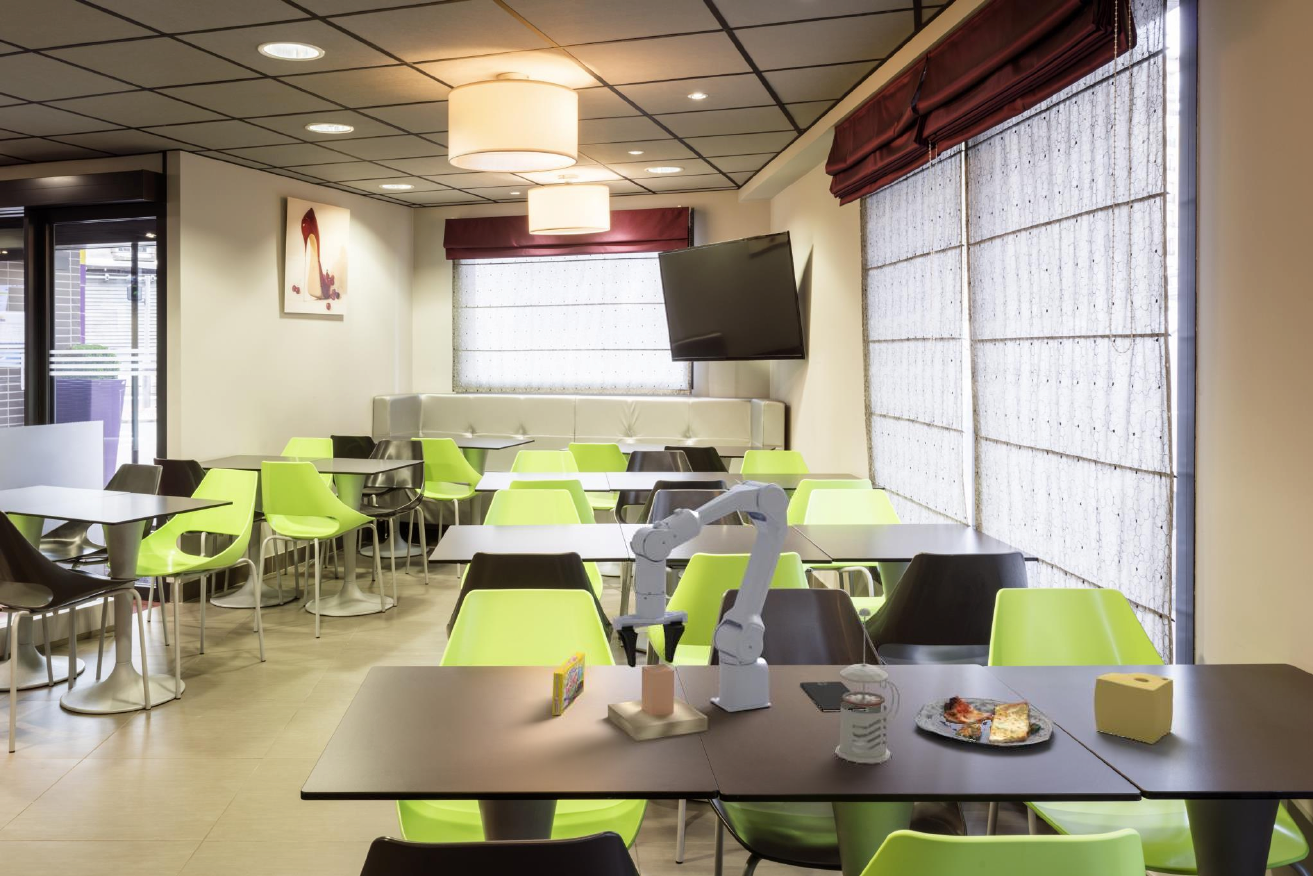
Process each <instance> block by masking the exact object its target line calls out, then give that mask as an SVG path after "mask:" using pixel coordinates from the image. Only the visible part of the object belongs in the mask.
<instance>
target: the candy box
mask: <svg viewBox="0 0 1313 876" xmlns="http://www.w3.org/2000/svg"><path fill="white" fill-rule="evenodd" d="M585 657H586V653H584V652H578V651H577V652H576V653H574V654H573V655H572V656H571V657H570V658H569V659H568V660H567V661H565V662H564V663H563V664H562V665H561V666H560V667H558V668H557V669H556V670H555V671H554V672H553V679H552V680H553V682H552V684H553V686H552V703H551V704H552V709H551V715H552V716H555V715H560V716H561V715H562V714H564V712H565V711H566V710H567V709H568V708H569V707H570V706H571V705H572V704H573V703H574V702H575V701H576V700H577V699H578V698H579V697H580V696H581V695H582V693H584V692H585V691H584V689H585V667H586V666H585V665H586V663H585V661H586V660H585V659H586V658H585ZM578 696H579V697H578ZM577 697H578V698H577ZM576 698H577V699H576ZM575 699H576V700H575Z"/></svg>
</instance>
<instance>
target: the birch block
mask: <svg viewBox="0 0 1313 876" xmlns="http://www.w3.org/2000/svg"><path fill="white" fill-rule="evenodd" d="M607 718H608V719H610V721H612V722H613V723H614V724H616V725H617V726H618V727H619V728H621V730H622V731H624V732H625V733H626V734H628V736H630V737H631V738H632V739H633V740H635V742H637V741H644V740H645V741H646V740H649V739H650V740H651V739H657V738H663V737H671V736H677V735H684V734H691V733H692V734H693V733H697V732H698V733H699V732H705V731H708V716H706V715H705V714H703V712H701V711H699V710H698V709H696V708H694V707H693V706H691V705H690V704H688V703H687V702H685V701H684V700H683V699H680V697H678V696H676V695H674V713H672V714H665V715H657V716H650V715H649V714H648V713H646V712H645V711H644V710H642V699H640V700H634V701H633V700H632V701H625V702H618V703H609V704H607Z"/></svg>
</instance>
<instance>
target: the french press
mask: <svg viewBox="0 0 1313 876" xmlns="http://www.w3.org/2000/svg"><path fill="white" fill-rule="evenodd" d="M858 611H859V612H858V615H859V616H861V617H864V618H863V663H858V664H857V663H855V664H851V665H848V667H845V668H843V669H842V670H840V673H839V675H840V677H841V678H842V680H845V681H848V682H851V683H856V684H857V683H858V684H863V687H862V688H863V690H862V691H860V690H859V691H856V690H854V691H851V692H848V693H845V694H844V695H842V698H843V700H844V702H842V703H841V712H840V716H839V717H840V719H839V721H840V725H839V727H840V729H839V731H840V732H839V745H837V747H835V748H836V750H835V753H837V754H839V756H842V757H843V758H846V759H848V760H854V761H857V762H880V761H882V760H887V758H889V756H890V753H891V751H890V750H889V749H888V748H887V725H888V724H889V723H890V722H891V721H893V719H894V718H896V716H897V713H898V712H899V708H900V698H901V697H900V693H899V690H898V687H897V686H896V685H895V683H894V682H891V681H890V680H888V678H889V674H888V673H887V672H886V671H884V670H883V669H880V667H878V666H875V665H872V664H868V663H866V617H870V616H871V611H870V609H869V608H865V607H863V608H861V609H859V610H858ZM884 682H885V683H884ZM882 683H884V686H882ZM867 684H879V687H880V688H881V689H883V690H885V689H886V688H887V684H888V685H889V687H890V689H891V695H892V696H891V697H892V699H891V704H890V705H891V706H890V709H889V711H888V712H887V709H888V708H887V706H886V705H884V703H885V702H886V698H885V697H884V696H883V695H881V694H879V693H875V692H872V691H865V685H867ZM892 686H893V687H894V689H895V691H896V695H897V706H896V711H895V713H894V715H893V716H892V717H891V718H890V719H888V720H887V718H888V716H889V715H890V713H891V712H892V709H893V706H894V702H895V700H894V699H895V694H894V690H893V687H892ZM882 704H883V711H882ZM855 705H858V706H863V707H865V708H867V710H868V711H867V710H866V711H864V710H859V709H854V710H851V711H848V710H847V709H848V708H849V707H852V706H855ZM856 728H858V729H860V730H858V729H856ZM881 728H882V729H881ZM881 735H882V736H881ZM881 742H882V744H881Z"/></svg>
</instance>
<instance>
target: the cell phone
mask: <svg viewBox="0 0 1313 876" xmlns="http://www.w3.org/2000/svg"><path fill="white" fill-rule="evenodd" d="M799 685H801V686H802V687H803V688H804V689H805V690H806V692H807V693H808V694H809V695H810V696H811V697H812V699H813V700H814V701H815V702H816V703H817V704H818V706H820V708H821V709H822V710H841V703H842V702H844V700H843V698H842V695H844V694H845V693H848V692H852V691H851V690H850V689H849V688H848V687H847V686H846V684H844V683H843V682H842V681H808V682H807V681H805V682H800V683H799ZM801 686H800V687H801ZM802 687H801V688H802ZM803 688H802V689H803ZM804 689H803V690H804ZM806 692H805V693H806ZM807 693H806V694H807ZM808 694H807V695H808ZM809 695H808V696H809ZM810 696H809V697H810ZM812 699H811V700H812ZM813 700H812V701H813ZM814 701H813V702H814ZM815 702H814V703H815ZM816 703H815V704H816ZM818 706H817V707H818ZM820 708H819V709H820ZM821 709H820V710H821ZM853 709H866V708H865V707H863V706H858V705H855V706H852V707H849V708H848V710H853ZM822 710H821V711H822Z"/></svg>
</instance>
